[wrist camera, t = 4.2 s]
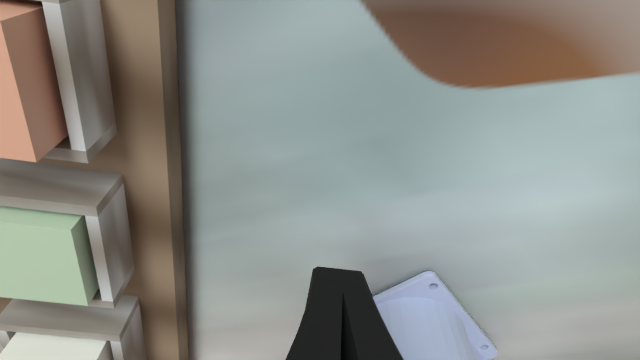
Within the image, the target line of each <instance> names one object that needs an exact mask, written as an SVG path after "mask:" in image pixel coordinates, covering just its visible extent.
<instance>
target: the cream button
mask: <svg viewBox="0 0 640 360" xmlns="http://www.w3.org/2000/svg"><path fill="white" fill-rule="evenodd" d="M0 360H114V358H113V353H112V348H111V343H110V341H105V340H95V339H84V338H74V337H63V336H53V335H42V334H32V333H22V332H16V333H15V335H14V336H13V337H12V339H11V340H10V341H9V343H8V344H7V346H6V347H5V348H4V350H3V351H2V352H1V354H0Z"/></svg>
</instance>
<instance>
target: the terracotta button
mask: <svg viewBox="0 0 640 360" xmlns="http://www.w3.org/2000/svg"><path fill="white" fill-rule="evenodd" d="M68 135H69V134H68V129H67V124H66V119H65V114H64V109H63V104H62V99H61V94H60V89H59V84H58V79H57V74H56V69H55V64H54V59H53V54H52V49H51V44H50V39H49V34H48V29H47V24H46V19H45V14H44V9H43V4H42V1H36V0H0V158H6V159H14V160H22V161H30V162H38V161H39V160H40V159H41V158H42V157H43V156H45V155H46V154H47V153H48V152H49V151H50V150H52V149H53V148H54V147H55V146H56V145H57V144H59V143H60V142H61V141H62V140H63V139H64V138H66V137H67V136H68Z"/></svg>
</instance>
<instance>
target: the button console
mask: <svg viewBox="0 0 640 360" xmlns="http://www.w3.org/2000/svg"><path fill="white" fill-rule="evenodd" d="M36 1H42V4H43V9H44V14H45V19H46V24H47V29H48V34H49V39H50V44H51V49H52V54H53V59H54V64H55V69H56V74H57V79H58V84H59V89H60V94H61V99H62V104H63V109H64V114H65V119H66V124H67V129H68V134H69V135H68V136H67V137H66V138H64V139H63V140H62V141H61V142H60V143H59V144H57V145H56V146H55V147H54V148H53V149H52V150H50V151H49V152H48V153H47V154H46V155H45V156H43V157H42V158H41V159H40V160H39V161H38V162H30V161H22V160H14V159H6V158H0V206H8V207H17V208H25V209H34V210H42V211H51V212H59V213H68V214H77V215H85V218H86V223H87V228H88V233H89V238H90V243H91V248H92V253H93V258H94V263H95V268H96V273H97V278H98V283H99V289H98V290H97V292H96V294H95V295H94V297H93V299H92V300H91V302H90V303H89V305H88V306H85V305H75V304H65V303H55V302H46V301H36V300H26V299H16V298H6V297H0V342H1V344H2V347H3V349H4V348H5V347H6V346H7V344H8V343H9V341H10V340H11V339H12V337H13V336H14V335H15V333H16V332H22V333H32V334H42V335H53V336H63V337H74V338H84V339H95V340H105V341H110V343H111V348H112V353H113V358H114V360H189V347H188V321H187V295H186V269H185V244H184V218H183V192H182V166H181V140H180V114H179V89H178V63H177V37H176V11H175V0H36Z"/></svg>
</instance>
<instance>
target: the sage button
mask: <svg viewBox="0 0 640 360" xmlns="http://www.w3.org/2000/svg"><path fill="white" fill-rule="evenodd" d="M98 289H99V283H98V278H97V273H96V268H95V263H94V258H93V253H92V248H91V243H90V238H89V233H88V228H87V223H86V218H85V215H77V214H68V213H59V212H51V211H42V210H34V209H25V208H17V207H8V206H0V297H6V298H16V299H26V300H36V301H46V302H55V303H65V304H75V305H85V306H88V305H89V303H90V302H91V300H92V299H93V297H94V295H95V294H96V292H97V290H98Z"/></svg>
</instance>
